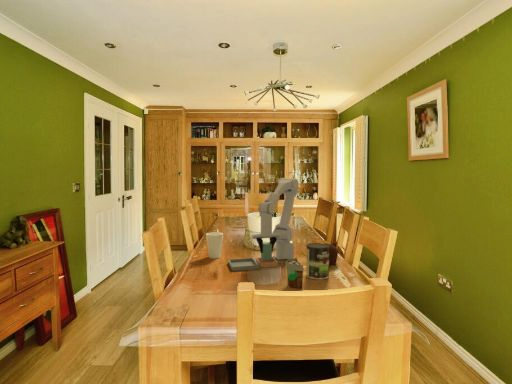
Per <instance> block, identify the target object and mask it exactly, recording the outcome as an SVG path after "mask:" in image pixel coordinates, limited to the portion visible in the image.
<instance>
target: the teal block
mask: <svg viewBox="0 0 512 384" xmlns="http://www.w3.org/2000/svg"><path fill="white" fill-rule="evenodd" d="M272 257H273V252H272V244H271V243H270V241H268V242H264V241H263V253H261V252H260V258H261V259H262V260H272Z"/></svg>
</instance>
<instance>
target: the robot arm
mask: <svg viewBox="0 0 512 384" xmlns="http://www.w3.org/2000/svg"><path fill="white" fill-rule="evenodd" d="M299 185H300V183H299V180H298V179H297V177H293V178H292V177H287V178H286V177H280V178H279V180H278V182H277V187H276V188H275V190H274V192H270V193H269V195H267V197H266V198H265V199H264V201H262V202H260V203H259V205H258V207H257V209H258V213H259V217H260V233H256V234H255V233H254V234H251V239H252V240H256V242H257V244H258V246H259V253H260V254H261V253H263V243H264V240H263V239H269V242H270V243H271V244H272V253H273V250H274V247H275V255H274V254H273V258H274V259H275V258H276V259H275V260H277V261H278V260H288V259H292V258H295V257H294V256H295V253H294V252H295V249H294V248H295V246H294V242H293V241H292V239H293V237H294V236H293V233H294V232H293V231H294V229H293V227H292V226H291V225H290V223H291V222H290V221H291V217H292V213H293V207H294V203H295V199H296V198H295V197H296V195H297V194H298V189H299ZM282 194H283V195H284V196H285V197H284V202H283V207H282V211H281V216H280V219H279V222H278V224H275V226H274V230H273V213H274V211H275V208H276V205H277V204H278V203H279V201H280V196H281V195H282Z"/></svg>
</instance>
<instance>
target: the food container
mask: <svg viewBox="0 0 512 384" xmlns="http://www.w3.org/2000/svg"><path fill="white" fill-rule="evenodd" d="M284 267H285V268H286V276H287V279H286V280H287V286H288V287H289V288H291V289H296V290H303V283H304V282H303V281H304V280H303V278H304V276H303V275H304V265H302V264H301V263H300V262H299V261H298V257H294V258H292V259H286V261H285V266H284Z"/></svg>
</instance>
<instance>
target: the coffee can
mask: <svg viewBox="0 0 512 384" xmlns="http://www.w3.org/2000/svg"><path fill="white" fill-rule="evenodd" d="M305 246H306V264H305V265H306V268H305V269H306V272H305V275H306V277H307V278H309V279H311V280H317V281H318V280H326V279H328V278H330V266H329V247H330V246H329V245H327V244H326V243H320V242H313V243H312V242H311V243H307V244H306V245H305Z"/></svg>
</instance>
